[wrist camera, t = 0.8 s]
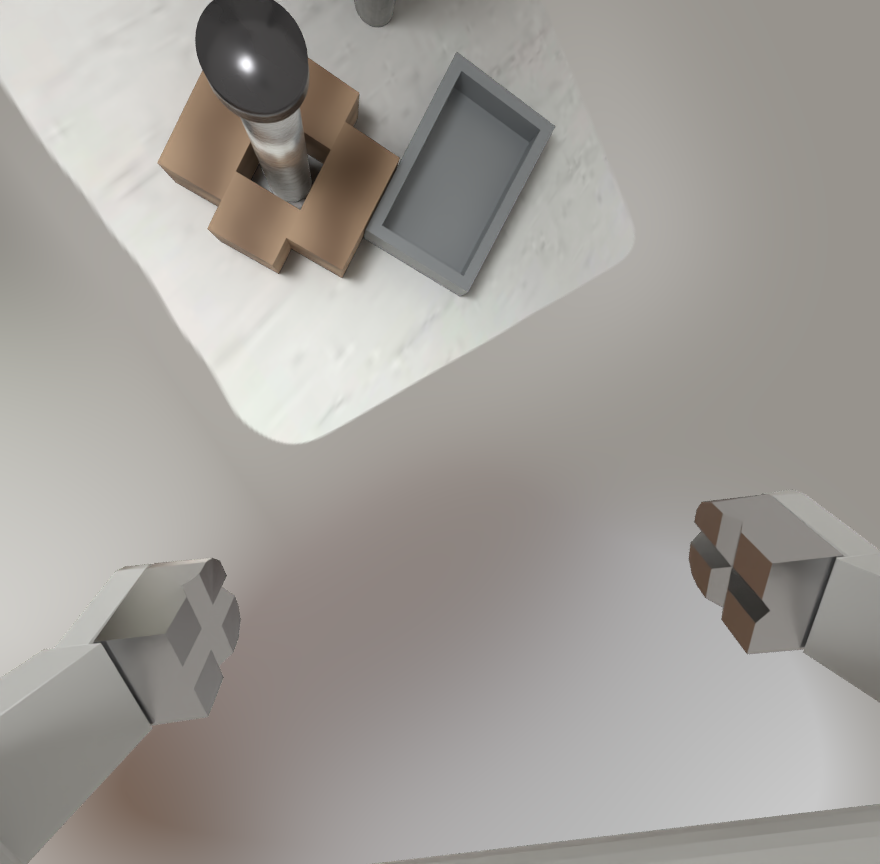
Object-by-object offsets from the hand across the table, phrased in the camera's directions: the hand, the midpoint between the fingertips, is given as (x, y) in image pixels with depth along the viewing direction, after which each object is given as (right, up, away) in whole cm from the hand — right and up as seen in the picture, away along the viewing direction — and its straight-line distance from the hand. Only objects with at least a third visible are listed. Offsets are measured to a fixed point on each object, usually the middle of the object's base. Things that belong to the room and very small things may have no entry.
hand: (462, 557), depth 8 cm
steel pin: (-13, +24, +32) cm, 42 cm away
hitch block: (-13, +24, +32) cm, 42 cm away
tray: (+1, +24, +35) cm, 42 cm away
